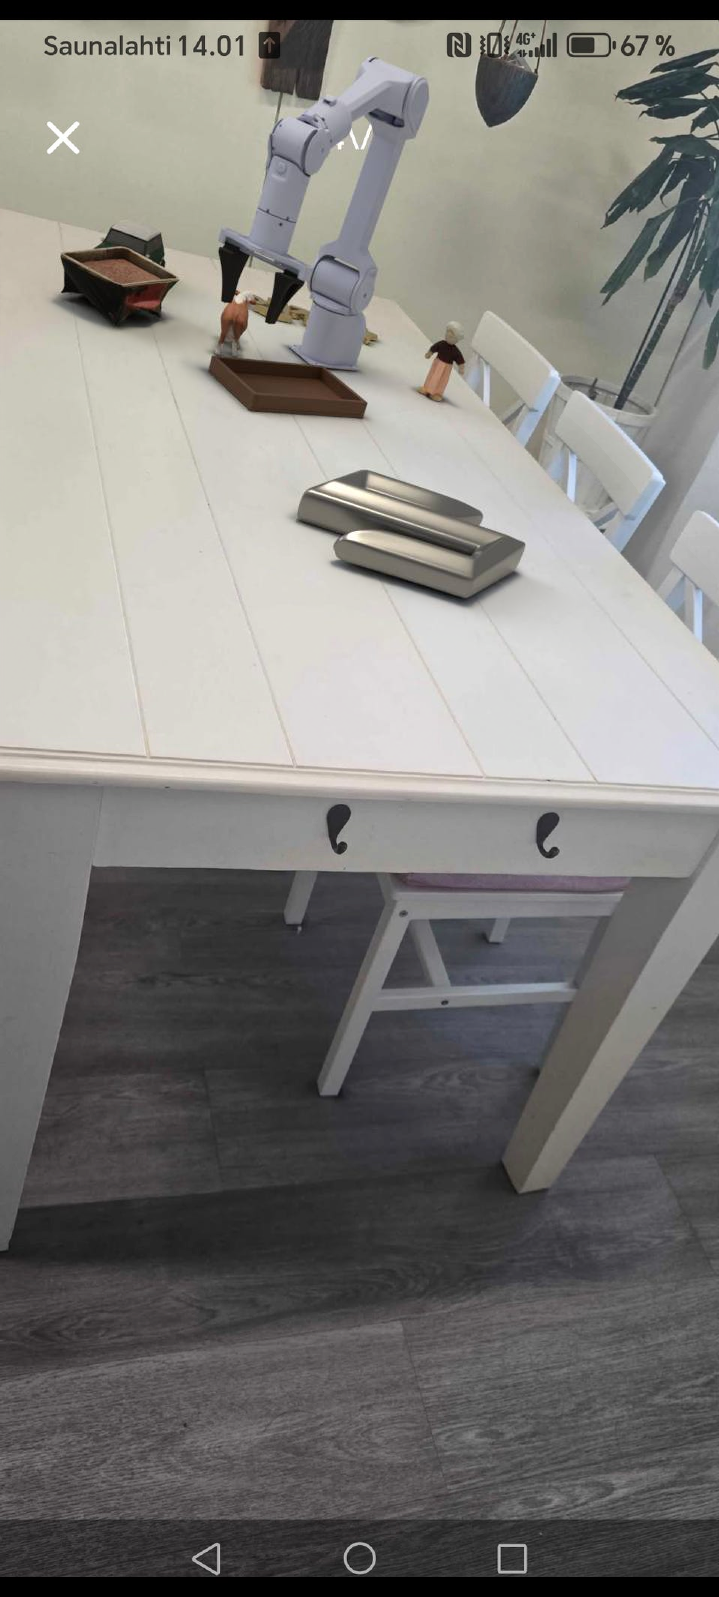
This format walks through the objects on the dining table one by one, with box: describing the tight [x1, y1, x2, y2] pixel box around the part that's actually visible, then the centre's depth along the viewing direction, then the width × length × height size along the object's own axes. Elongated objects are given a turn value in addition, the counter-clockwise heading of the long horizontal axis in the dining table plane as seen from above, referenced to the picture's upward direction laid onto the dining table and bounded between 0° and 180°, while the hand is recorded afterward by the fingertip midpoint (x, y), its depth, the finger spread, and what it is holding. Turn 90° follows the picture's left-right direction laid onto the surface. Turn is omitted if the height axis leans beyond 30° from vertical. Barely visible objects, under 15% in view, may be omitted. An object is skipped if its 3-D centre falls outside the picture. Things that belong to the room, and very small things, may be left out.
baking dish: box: [59, 246, 180, 328], centre depth 190 cm, size 14×18×10 cm
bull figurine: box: [214, 289, 256, 358], centre depth 192 cm, size 4×13×8 cm, turn 174°
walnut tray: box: [207, 355, 369, 419], centre depth 185 cm, size 20×13×2 cm, turn 124°
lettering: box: [252, 293, 378, 345], centre depth 219 cm, size 25×10×1 cm, turn 100°
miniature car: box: [93, 218, 166, 269], centre depth 206 cm, size 9×18×8 cm, turn 170°
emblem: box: [296, 469, 526, 599], centre depth 153 cm, size 28×5×28 cm
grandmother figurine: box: [416, 320, 466, 402], centre depth 203 cm, size 8×4×13 cm, turn 68°
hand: (247, 312), depth 176 cm, fingers open, 7 cm apart
